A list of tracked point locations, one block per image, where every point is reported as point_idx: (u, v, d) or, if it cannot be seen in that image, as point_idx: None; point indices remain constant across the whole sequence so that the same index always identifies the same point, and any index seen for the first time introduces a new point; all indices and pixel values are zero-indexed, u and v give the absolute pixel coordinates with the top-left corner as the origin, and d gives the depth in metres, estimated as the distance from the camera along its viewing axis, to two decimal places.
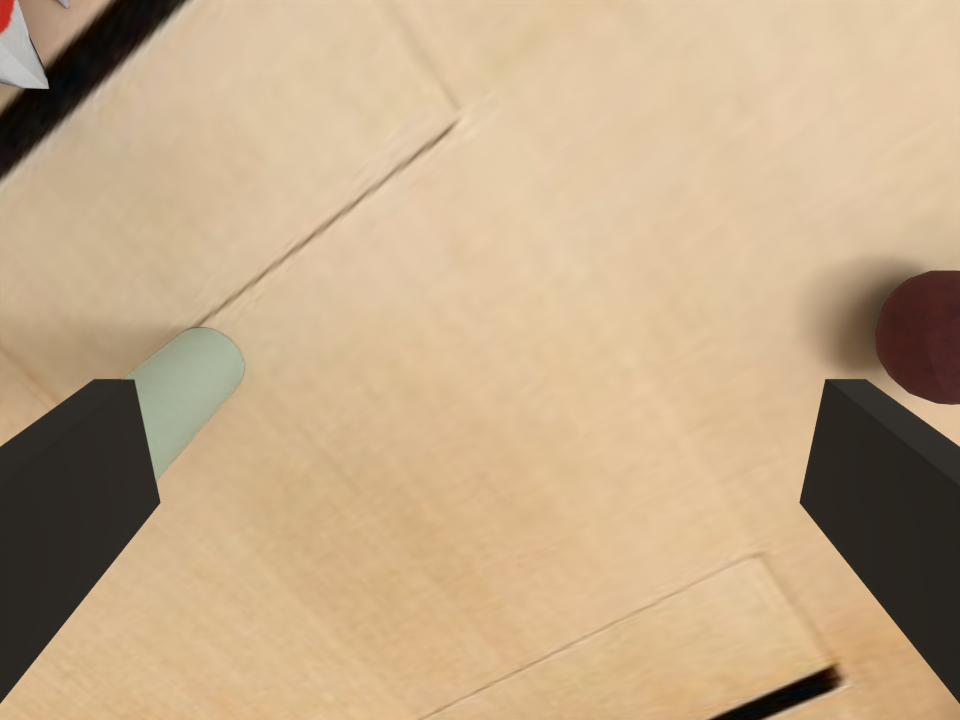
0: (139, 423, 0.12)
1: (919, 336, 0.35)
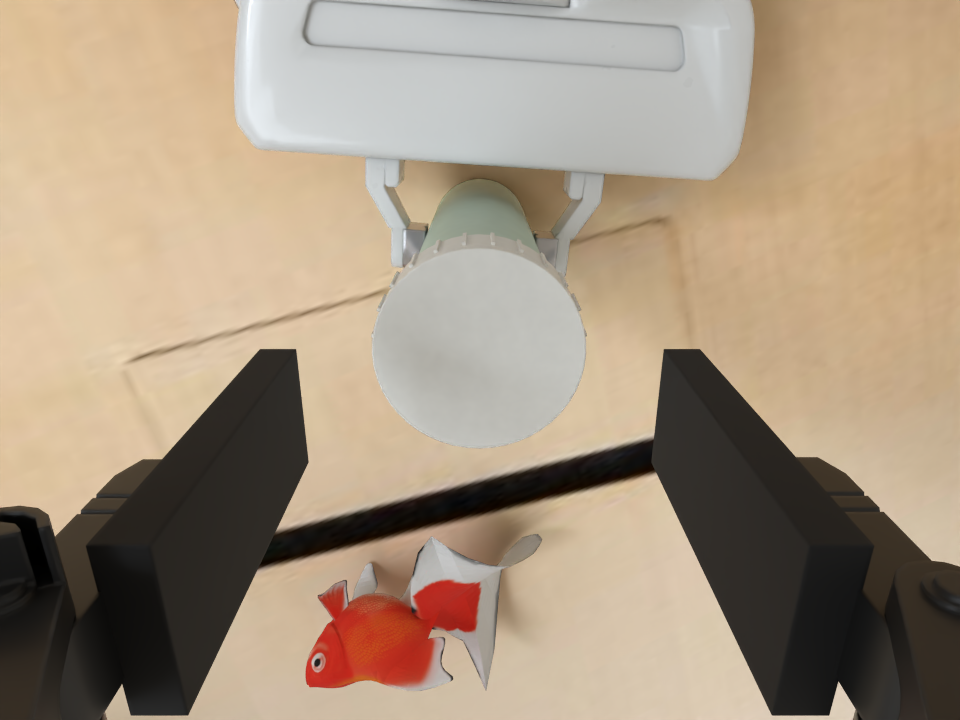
0: (298, 389, 0.14)
1: None
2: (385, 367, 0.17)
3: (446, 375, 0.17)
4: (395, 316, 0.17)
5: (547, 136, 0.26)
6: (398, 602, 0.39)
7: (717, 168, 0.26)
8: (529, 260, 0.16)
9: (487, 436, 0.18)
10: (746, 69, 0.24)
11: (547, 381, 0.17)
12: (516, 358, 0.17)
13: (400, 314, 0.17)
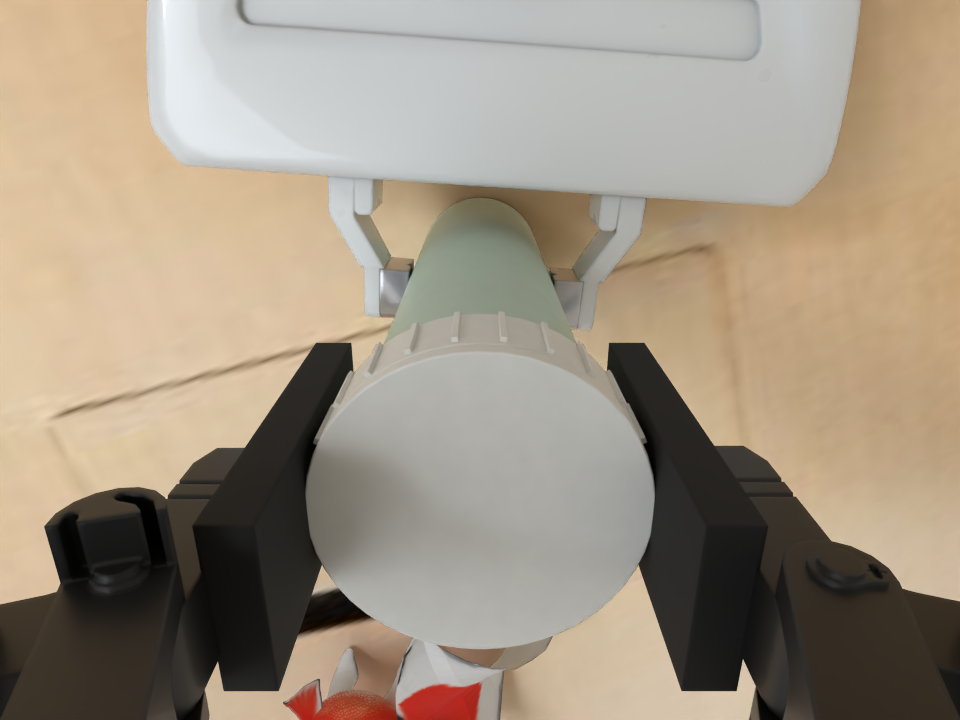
0: None
1: None
2: (327, 534, 0.11)
3: (427, 546, 0.11)
4: (341, 458, 0.10)
5: (571, 148, 0.19)
6: (382, 705, 0.32)
7: (799, 191, 0.20)
8: (565, 370, 0.10)
9: (493, 632, 0.11)
10: (847, 57, 0.18)
11: (591, 555, 0.11)
12: (541, 521, 0.11)
13: (349, 455, 0.10)
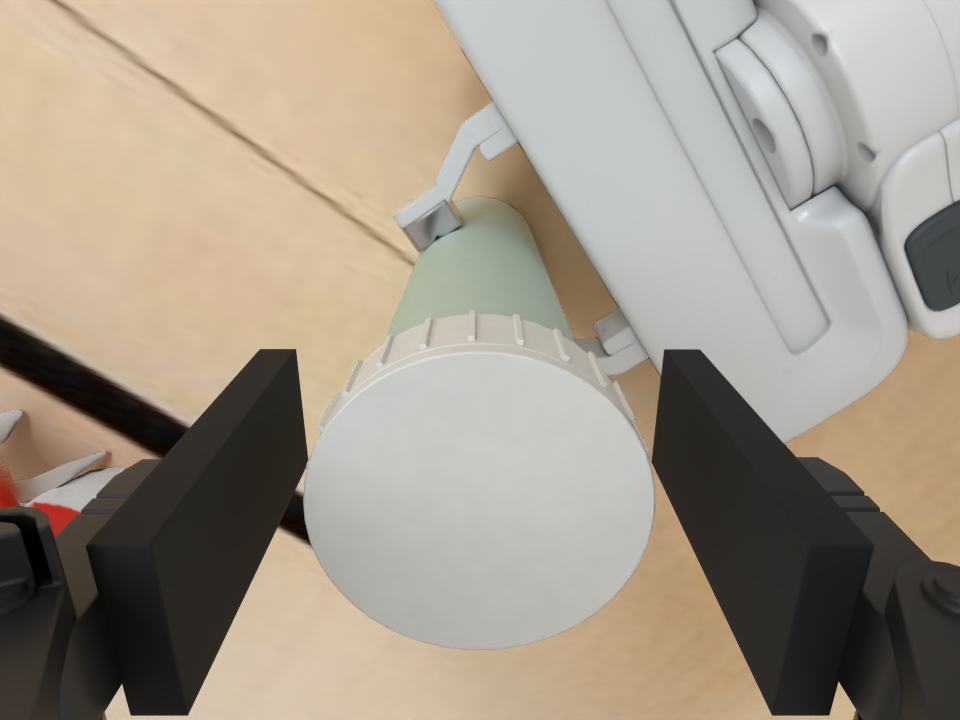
0: (298, 389, 0.14)
1: None
2: (413, 625, 0.11)
3: (478, 569, 0.11)
4: (353, 574, 0.11)
5: (653, 281, 0.21)
6: (9, 487, 0.28)
7: None
8: (389, 372, 0.10)
9: (606, 577, 0.11)
10: (831, 411, 0.22)
11: (588, 458, 0.10)
12: (521, 476, 0.10)
13: (354, 567, 0.11)
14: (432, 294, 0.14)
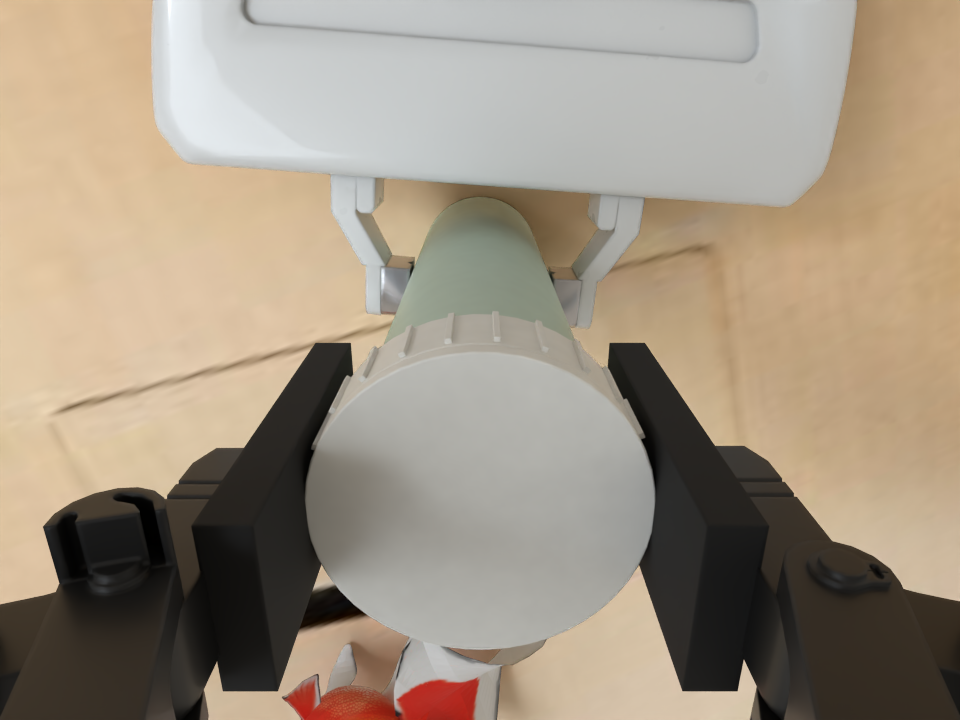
0: None
1: None
2: (542, 626, 0.11)
3: (530, 549, 0.11)
4: (458, 630, 0.11)
5: (571, 148, 0.19)
6: (380, 700, 0.33)
7: (795, 191, 0.20)
8: (305, 490, 0.10)
9: (625, 464, 0.10)
10: (843, 60, 0.18)
11: (493, 404, 0.10)
12: (468, 462, 0.10)
13: (453, 625, 0.11)
14: None
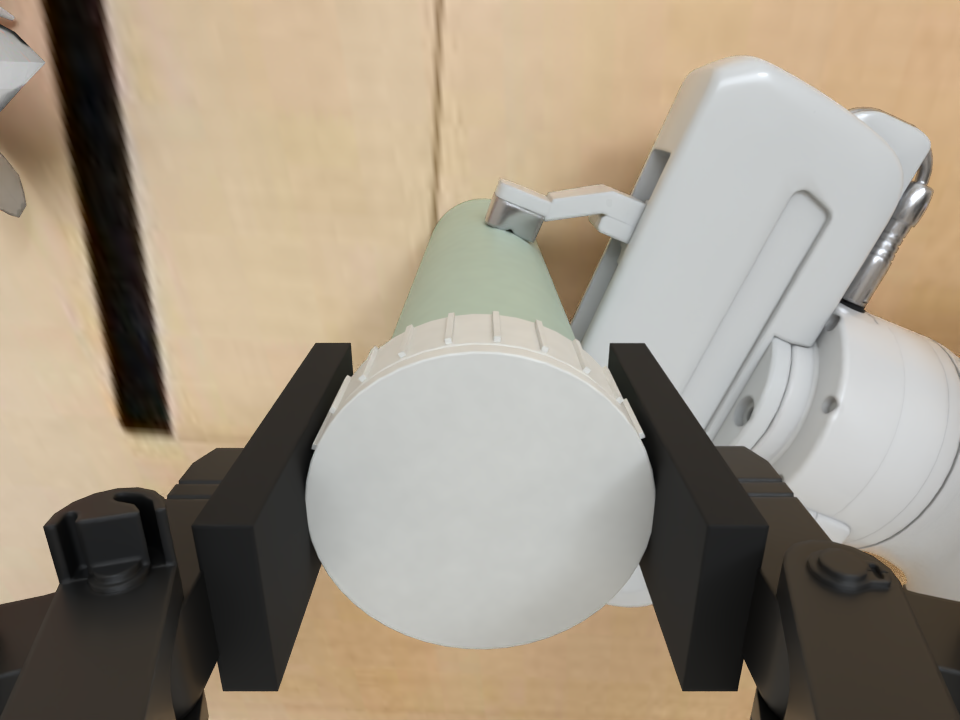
0: None
1: None
2: (542, 626, 0.11)
3: (530, 549, 0.11)
4: (458, 630, 0.11)
5: None
6: None
7: None
8: (305, 489, 0.10)
9: (625, 464, 0.10)
10: None
11: (493, 404, 0.10)
12: (468, 462, 0.10)
13: (453, 625, 0.11)
14: (534, 294, 0.15)
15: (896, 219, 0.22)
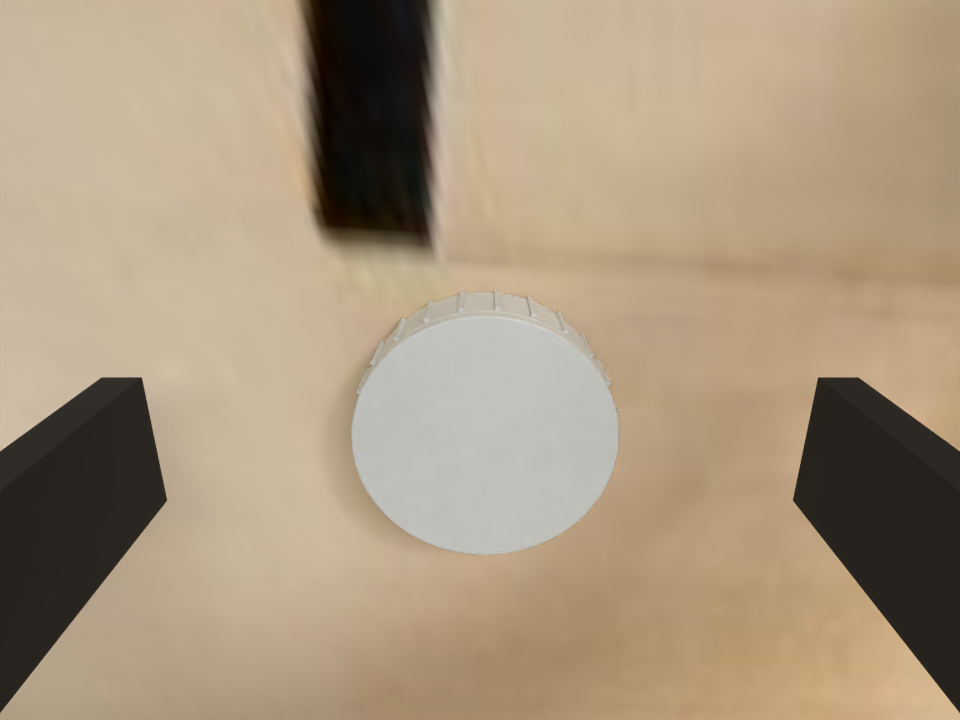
0: (146, 422, 0.12)
1: None
2: (533, 535, 0.14)
3: (523, 471, 0.14)
4: (468, 538, 0.15)
5: None
6: None
7: None
8: (352, 424, 0.14)
9: (595, 403, 0.13)
10: None
11: (495, 356, 0.13)
12: (476, 402, 0.13)
13: (464, 534, 0.14)
14: None
15: None
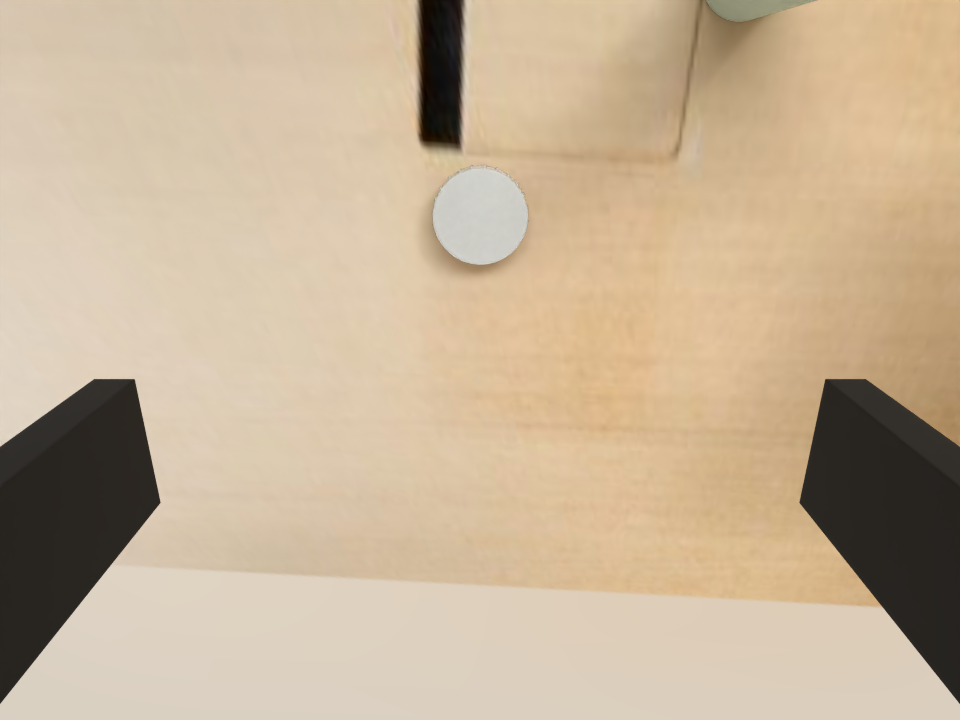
0: (139, 423, 0.12)
1: None
2: (498, 255, 0.39)
3: (494, 229, 0.39)
4: (474, 257, 0.39)
5: None
6: None
7: None
8: (433, 210, 0.38)
9: (518, 201, 0.38)
10: None
11: (483, 183, 0.38)
12: (477, 201, 0.38)
13: (472, 255, 0.39)
14: None
15: None
